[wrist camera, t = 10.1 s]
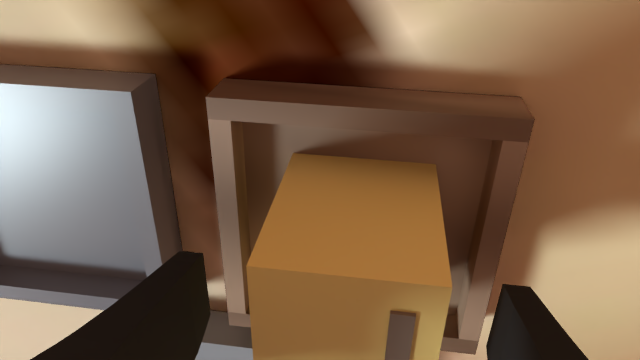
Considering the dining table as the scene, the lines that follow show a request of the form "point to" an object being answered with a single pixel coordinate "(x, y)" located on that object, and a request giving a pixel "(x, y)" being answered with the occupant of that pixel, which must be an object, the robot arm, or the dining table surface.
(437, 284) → the letter cube
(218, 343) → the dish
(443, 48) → the dining table surface
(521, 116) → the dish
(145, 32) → the dining table surface
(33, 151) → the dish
